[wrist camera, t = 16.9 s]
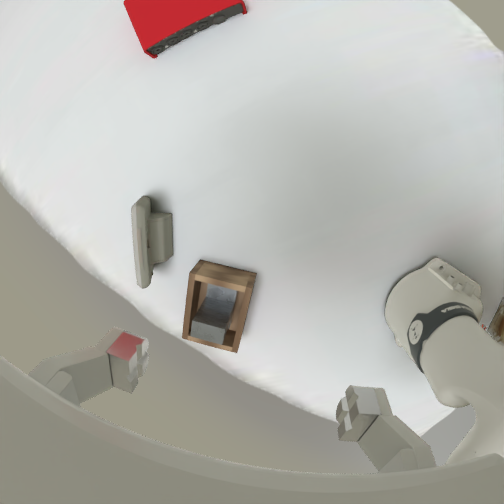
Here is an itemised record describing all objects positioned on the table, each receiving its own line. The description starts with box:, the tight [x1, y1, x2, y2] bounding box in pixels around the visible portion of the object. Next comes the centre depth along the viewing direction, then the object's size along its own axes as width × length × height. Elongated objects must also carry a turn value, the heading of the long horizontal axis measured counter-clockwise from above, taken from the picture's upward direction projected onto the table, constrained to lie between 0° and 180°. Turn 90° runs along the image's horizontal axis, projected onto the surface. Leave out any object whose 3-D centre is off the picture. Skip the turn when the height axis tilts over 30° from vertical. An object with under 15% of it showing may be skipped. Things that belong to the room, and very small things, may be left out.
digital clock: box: [131, 196, 173, 289], centre depth 45 cm, size 14×8×9 cm, turn 166°
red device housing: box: [124, 0, 247, 58], centre depth 33 cm, size 18×14×5 cm
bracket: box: [190, 283, 238, 345], centre depth 46 cm, size 5×8×10 cm, turn 168°
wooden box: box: [182, 260, 256, 353], centre depth 49 cm, size 10×13×6 cm
